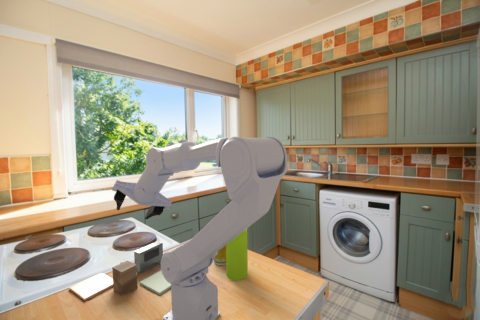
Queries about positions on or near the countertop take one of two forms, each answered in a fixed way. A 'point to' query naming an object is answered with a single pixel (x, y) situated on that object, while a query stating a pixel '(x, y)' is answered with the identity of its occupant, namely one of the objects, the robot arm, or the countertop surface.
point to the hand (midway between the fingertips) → (133, 211)
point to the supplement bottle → (221, 257)
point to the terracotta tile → (92, 286)
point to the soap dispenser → (237, 257)
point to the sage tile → (156, 283)
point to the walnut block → (124, 277)
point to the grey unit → (148, 256)
